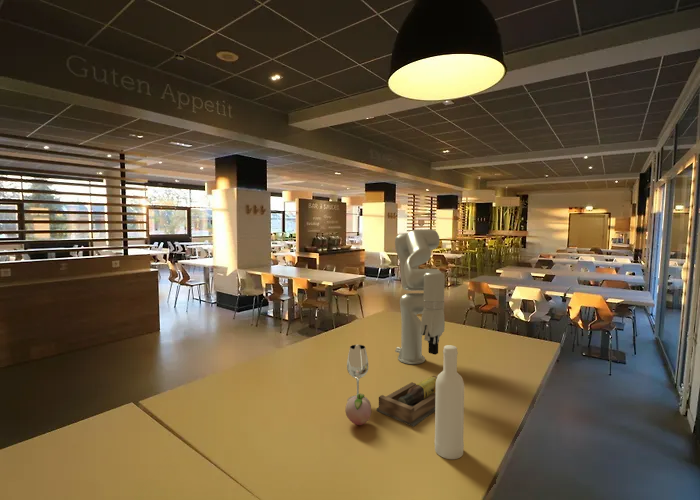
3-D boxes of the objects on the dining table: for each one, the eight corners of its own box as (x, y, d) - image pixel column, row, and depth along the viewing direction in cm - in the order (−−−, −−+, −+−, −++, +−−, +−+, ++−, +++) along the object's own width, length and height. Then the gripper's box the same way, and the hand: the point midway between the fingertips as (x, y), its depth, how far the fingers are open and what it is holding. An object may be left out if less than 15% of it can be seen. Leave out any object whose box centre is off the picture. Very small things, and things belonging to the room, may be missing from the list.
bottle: (430, 443, 109) (432, 342, 107) (457, 442, 109) (458, 341, 107) (439, 460, 101) (441, 352, 99) (468, 459, 101) (470, 351, 99)
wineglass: (371, 397, 138) (371, 344, 136) (365, 407, 130) (364, 351, 129) (351, 394, 140) (350, 342, 139) (344, 404, 133) (343, 349, 132)
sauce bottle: (439, 394, 139) (404, 418, 126) (427, 382, 142) (392, 403, 129) (446, 383, 135) (411, 406, 122) (433, 370, 139) (398, 391, 126)
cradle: (376, 410, 128) (376, 396, 128) (412, 389, 144) (412, 376, 144) (413, 426, 118) (413, 410, 117) (447, 402, 134) (447, 388, 133)
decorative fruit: (346, 417, 124) (345, 388, 123) (370, 417, 124) (370, 388, 123) (344, 432, 114) (344, 401, 114) (371, 433, 114) (371, 401, 114)
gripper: (435, 300, 146) (434, 346, 148) (414, 306, 136) (413, 356, 137) (452, 303, 141) (452, 350, 143) (432, 309, 130) (431, 361, 132)
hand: (433, 353), depth 140 cm, fingers closed
